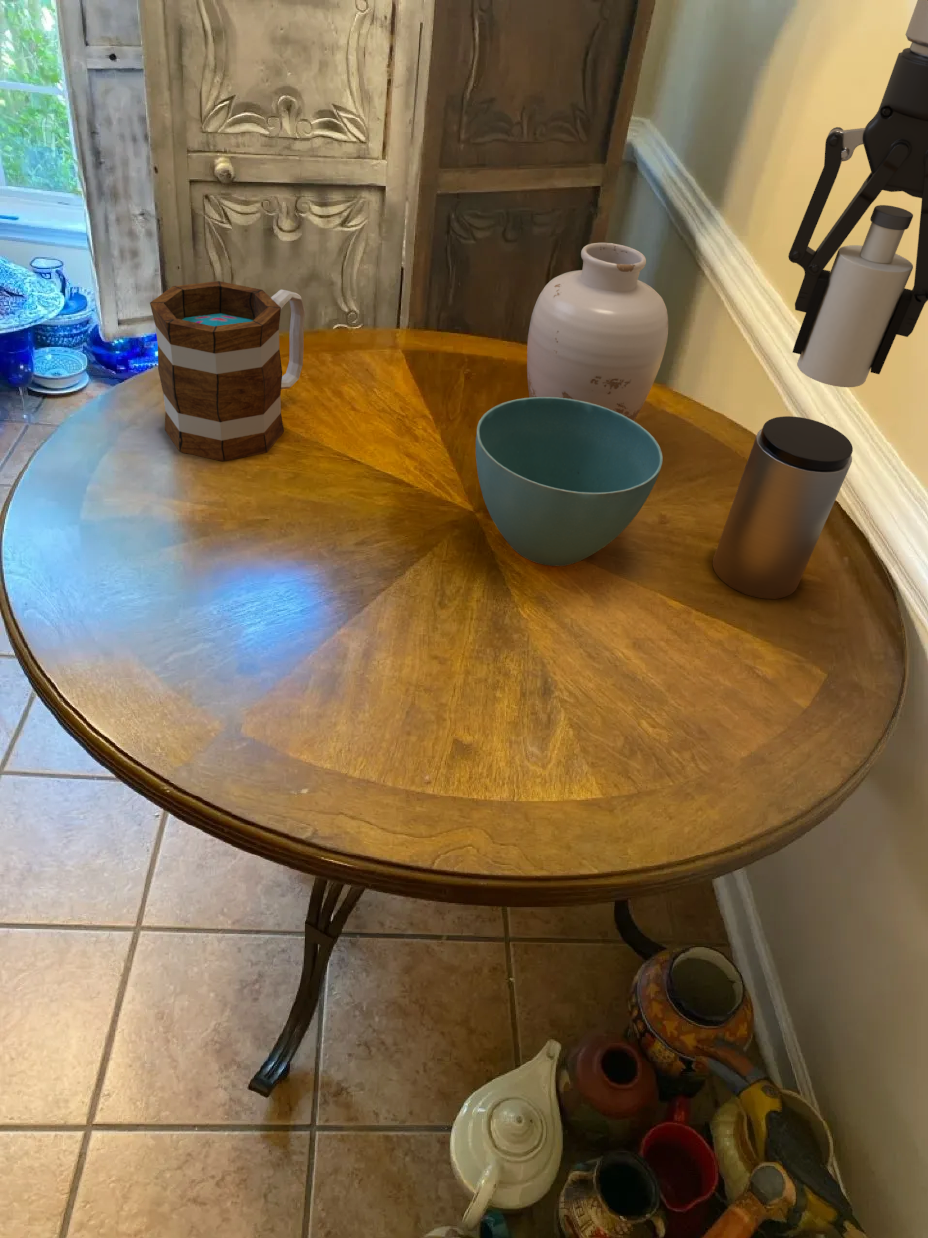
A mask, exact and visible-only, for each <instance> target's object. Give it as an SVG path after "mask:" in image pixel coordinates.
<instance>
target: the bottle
mask: <svg viewBox="0 0 928 1238" xmlns="http://www.w3.org/2000/svg"><path fill="white" fill-rule="evenodd" d="M869 218H870V222H871V223H870V226H869V228H868V231H867V234H866V236H865V239H864V241H863V244H862V245H861V244H860V245H858V244H852V245H850V244H849V245H844V246H840V247H839V249H838V250H837V251H836V256H835V258H834V261H833V263H832V266H831V269H830V274H829V278H828V282H827V284H826V287H825V290H824V293H823V295H822V298H821V301H820V304H819V306H818V309H817V312H816V314H815V317H814V320H813V323H812V325H811V328H810V331H809V334H808V336H807V339H806V342H805V345H804V347H803V350H802V353H801V355H800V354H799V357H798V360H797V362H796V367H797V368H798V369H799V371H800V372H801V373H802V374H803V375H805V376H806V377H808V378H810V379H812V380H813V381H817V382H819V383H822V384H824V385H828V386H833V387H838V388H839V387H840V388H856V387H860V386H862V385H864V384H865V382H866V380H867V378H868V376H869V374H870V372H871V366H872V364H873V362H874V359H875V357H876V355H877V352H878V350H879V348H880V345H881V343H882V340H883V338H884V336H885V333H886V331H887V329H888V326H889V324H890V321H891V319H892V317H893V314H894V312H895V310H896V307H897V305H898V302H899V300H900V298H901V295H902V293H903V291H904V288H905V289H906V285H907V283H908V281H909V278H910V276H911V274H912V272H913V270H914V265H913V263H912V262H911V261H910V260H908V259H907V258H906V257H904V256H902V255H900V254H898V253H897V250H898V248H899V245H900V243H901V241H902V238H903V235H904V233H905V232H906V230H908V229H909V228H910V226H911V223H912V221H913V218H914V214H913V213H912V212H911V211H909V210H907V209H904V208H901V207H899V206H893V205H887V204H879V205H875V206H874V208H873V210H872V214H871V215H870V217H869Z"/></svg>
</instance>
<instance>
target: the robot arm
mask: <svg viewBox="0 0 928 1238" xmlns="http://www.w3.org/2000/svg"><path fill="white" fill-rule="evenodd" d="M905 36H906V39H907V41H908V42H910V46H909V47H905V48H903V49H902V51H900V52H899V53H898V54H897V57H896V60H895V63H894V65H893V67H892V71H891V74H890V76H889V79H888V82H887V85H886V88H885V91H884V93H883V96H882V98H881V101H880V104H879V107H878V110H877V112H876V114H874V116H873V117H872V118H871V120H870V121H868V123H867V124H866V125H865V127H860V128H852V129H851V128H850V129H843V128H842V127H840V126H839V127H838V126H836V127H833V128H831V130H829V132H828V134H827V136H826V138H825V145H824V162H823V163H824V164H823V168H822V169H821V173H820V176H819V177H818V180H817V183H816V185H815V187H814V190H813V193H812V195H811V198H810V200H809V202H808V205H807V208H806V210H805V212H804V215H803V217H802V219H801V222H800V225H799V227H798V230H797V232H796V234H795V237H794V240H793V242H792V245H791V247H790V250H789V252H788V256H787V257H788V260H789V261H790V262H791V263H793V264H797V265H798V266H800V267H801V268H802V269H803V271H804V272H803V273H804V276H803V279H802V282H801V285H800V288H799V290H798V294H797V296H796V299H795V302H794V310H795V311H798V312H801V313H805V314H804V317H803V320H802V322H801V324H800V325H801V326H800V328H799V331H798V334H797V336H796V339H795V343H794V346H793V349H792V353H793V354H796V355H799V356H800V355H801V353H802V350H803V347H804V345H805V342H806V339H807V336H808V334H809V331H810V328H811V325H812V323H813V320H814V317H815V314H816V312H817V309H818V306H819V304H820V301H821V298H822V295H823V293H824V290H825V287H826V284H827V282H828V278H829V274H830V272H831V270H829V269H828V270H827V269H825V268H826V266H827V265H828V264H829V262H830V261H831V259H833V257H834V256H835V254H837V252H838V250H839V249H840V248H841V247H842V244H843V243H844V242H845V241H846V240H847V238H848V237H849V235H850V234H851V232H852V231H853V229H854V228H855V227H856V225H857V224H858V223H859V221H860V220H861V219H862V218H863V216H864V215H865V213H866V212H867V211H868V209H869V208H870V206H871V205H872V204H873V203H874V202H875V201H876V199H877V198H878V197H879V196H880V194H881V193H882V192H883V191H885V192H890V193H896V192H903V193H905V194H907V195H909V196H910V197H913V198H918V199H921V204H920V205H921V206H920V217H919V226H918V236H917V237H918V238H917V249H916V257H915V258H916V259H915V270H914V280H913V281H914V282H913V287H912V289H909V288H906V287H905V288H904V291H903V293H902V295H901V298H900V300H899V302H898V305H897V307H896V310H895V312H894V314H893V317H892V319H891V321H890V324H889V326H888V329H887V331H886V333H885V336H884V338H883V340H882V343H881V345H880V348H879V350H878V352H877V355H876V357H875V359H874V362H873V364H872V366H871V369H870V373H871V374H876V375H880V374H881V372H882V370H883V367H884V365H885V362H886V361H887V358H888V355H889V353H890V350H891V348H892V347H893V344H894V343H895V342H894V341H895V340H896V337H897V336H900V337H901V336H902V337H905V338H908V337H909V336H910V335H911V334H912V333H913V332H914V330H915V328H916V325H917V322H918V320H919V318H920V316H921V313H922V311H923V309H924V307H925V304H927V302H928V0H917V1H916V4H915V7H914V9H913V12H912V15H911V18H910V21H909V23H908V26H907V29H906V32H905ZM861 145H863V148H864V151H865V155H866V158H867V162H868V166H869V169H870V173H869V175H868V176H867V177H866V179H865V180H864V181H863V183H862V185H861V186H860V188H859V190H858V191H857V192H856V193H855V195H854V196H853V198H852V199H851V200H850V202H849V203H848V205H847V206H846V208H845V209H844V210H843V212H842V213H841V215H840V216H839V217H838V218H837V220H836V221H835V223H834V224H833V226H832V227H831V228H830V230H829V232H827V234H826V235H825V237H824V238H823V240H822V241H821V243H820V244H819V246H818V247H817V248H816V250H814V249H813V248H811V247H810V246H809V245H810V242H811V240H812V237H813V235H814V232H815V230H816V227H817V225H818V224H819V221H820V218H821V215H822V213H823V211H824V209H825V207H826V204H827V201H828V199H829V196H830V194H831V192H832V189H833V187H834V184H835V182H836V180H837V178H838V174H839V171H840V168H841V165H842V162H846V161H849V160H850V159H852V157H853V154H854V151H855V150H856V149H857V148H858V147H859V146H861Z"/></svg>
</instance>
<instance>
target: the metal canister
mask: <svg viewBox="0 0 928 1238" xmlns="http://www.w3.org/2000/svg"><path fill="white" fill-rule="evenodd" d="M853 452H854V447H853V444H852V442H851V440H850V439H849V438H848V437H847V436H846V435H844V434H843V433H842V432H840V431H839V430H837V429H836V428H834V427H832V426H830V425H828V424H826V423H823V422H821V421H819V420H814V419H810V418H806V417H800V416H793V415H791V416H790V415H787V416H785V415H784V416H776V417H773V418H771V419H768V420H767V421H766V422H765V423H763V426H762V428H761V429H759V431H757V433H756V436H755V439H754V442H753V444H752V447H751V449H750V453H749V456H748V458H747V461H746V463H745V468H744V470H743V472H742V475H741V478H740V482H739V484H738V487H737V490H736V493H735V494H734V495H735V496H734V498H733V501H732V504H731V507H730V510H729V512H728V516H727V518H726V521H725V524H724V527H723V529H722V532H721V536H720V538H719V541H718V543H717V547H716V549H715V552H714V554H713V558H712V567H713V570H714V572H715V574H716V575H717V577H718V578H719V580H721V581H722V582H723V583H724V584H725V585H727V586H728V587H730V588H732V589H733V590H735V591H737V592H738V593H741V594H743V595H747V596H750V597H753V598H758V599H763V600H764V599H766V600H777V599H778V600H779V599H782V598H787V597H789V596H791V595H792V594H793V593H794V592H795V591H796V590H797V588H798V586H799V584H800V581H801V579H802V577H803V575H804V572H805V571H806V568H807V566H808V564H809V562H810V559H811V557H812V554H813V551H814V550H815V547H816V545H817V543H818V541H819V538H820V536H821V534H822V531H823V530H824V528H825V525H826V522H827V520H828V518H829V515H830V513H831V512H832V508H833V506H834V504H835V502H836V500H837V497H838V495H839V493H840V491H841V488H842V486H843V484H844V481H845V479H846V477H847V474H848V472H849V469H850V467H851V465H852V462H853V456H852V454H853Z"/></svg>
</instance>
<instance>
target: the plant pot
mask: <svg viewBox="0 0 928 1238" xmlns="http://www.w3.org/2000/svg"><path fill="white" fill-rule="evenodd" d="M475 435H476V436H475V460H476V461H475V462H476V470H477V477H478V482H479V487H480V491H481V495H482V497H483V502H484V504H485V506H486V509H487V511H488V514H489V516H490V518H491V519H492V521H493V524H494V525H495V527H496V528H497V530H498V531H499V533H500V534H501V536H502V538H504V540H505V541H506V542H507V544H508V545H509V546H510V547H511V548H512V549H513V550H514V551H515V552H516V553H517V554H519V555H520V556H521V557H522V558H525V559H526V560H529V561H531V562H533V563H536V564H539V565H543V566H550V567H565V566H571V565H573V564H577V563H578V562H581V561H583V560H585V559H587V558H588V557H590V556H592V555H594V554H595V553H597V552H599V551H600V550H602V549H603V548H605V547H607V546H608V545H609V544H610V543H612V542H613V541H614V540H615V539H616V538H618V537H619V535H621V534H622V533H623V531H625V529H626V528H627V527H628V526H629V525H630V524H631V522H632V521H633V520H634V519H635V517H636V516H637V515H638V514H639V512H640V511H641V509H642V507H643V506H644V504H645V503H646V501H647V500H648V497H649V496H650V494H651V492H652V490H653V488H654V486H655V484H656V482H657V480H658V477H659V475H660V471H661V469H662V465H663V462H664V461H663V451H662V449H661V447H660V445H659V442H658V441H657V440H656V438H655V436H653V435H652V434H651V433H650V431H648V430H647V429H645V427H643V426H642V425H641V424H639V423H638V422H637V421H635V420H634V421H633V420H631V419H629V418H628V417H626V416H624V415H622V414H620V413H618V412H615V411H613V410H610V409H608V408H605V407H602V406H599V405H596V404H592V403H589V402H584V401H579V400H573V399H567V398H558V397H530V398H529V397H524V398H523V397H522V398H517V399H513V400H508V401H504V402H502V403H499V404H497V405H495V406H493V407H491V408H490V409H489V410H487V411H486V412H485V413H484V414H483V415H482V416H481V418H480V419H479V421H478V423H477V425H476V434H475Z"/></svg>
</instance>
